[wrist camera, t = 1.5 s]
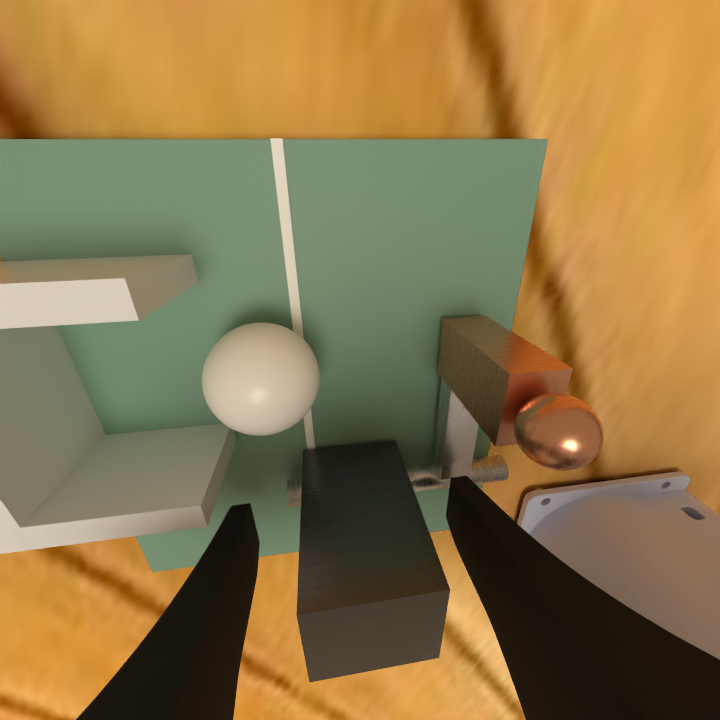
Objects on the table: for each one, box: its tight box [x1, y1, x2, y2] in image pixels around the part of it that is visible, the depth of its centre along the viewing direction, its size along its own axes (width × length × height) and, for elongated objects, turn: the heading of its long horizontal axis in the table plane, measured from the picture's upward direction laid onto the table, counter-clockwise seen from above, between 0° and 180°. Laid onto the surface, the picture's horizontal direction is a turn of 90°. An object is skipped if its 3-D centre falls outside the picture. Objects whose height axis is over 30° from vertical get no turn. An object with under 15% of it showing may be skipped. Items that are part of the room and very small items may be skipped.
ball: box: [202, 323, 320, 436], centre depth 9 cm, size 3×3×3 cm
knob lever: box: [287, 316, 603, 682], centre depth 10 cm, size 9×8×6 cm
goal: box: [0, 254, 236, 554], centre depth 9 cm, size 5×7×4 cm
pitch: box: [0, 138, 548, 572], centre depth 12 cm, size 15×16×1 cm
